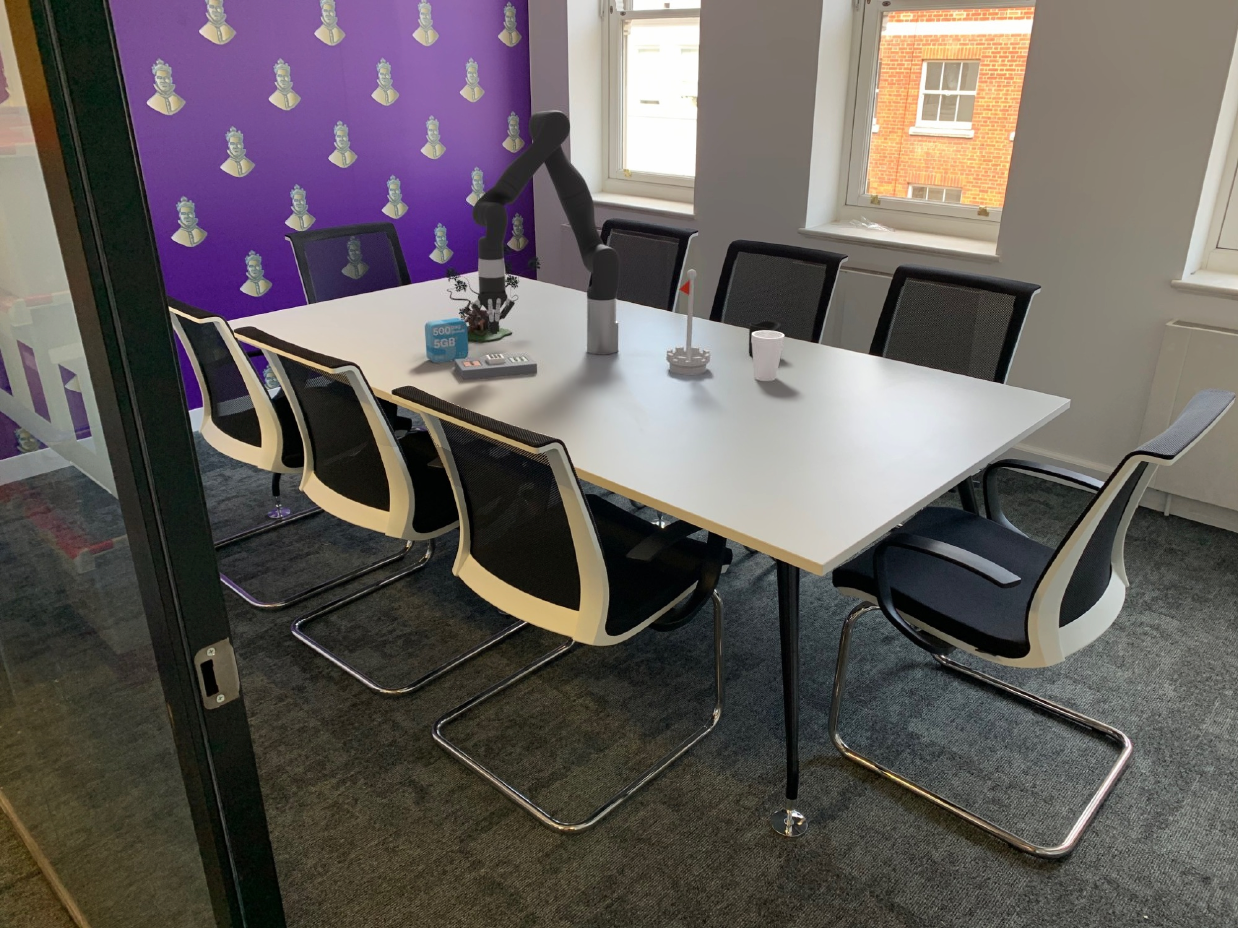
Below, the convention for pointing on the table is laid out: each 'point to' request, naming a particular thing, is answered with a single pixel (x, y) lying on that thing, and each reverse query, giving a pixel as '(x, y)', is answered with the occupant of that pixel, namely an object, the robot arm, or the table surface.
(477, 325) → the bonsai tree
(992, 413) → the table surface
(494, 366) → the button panel
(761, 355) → the foam cup
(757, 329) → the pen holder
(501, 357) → the button three
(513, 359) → the button two
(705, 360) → the flag stand
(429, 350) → the data package
